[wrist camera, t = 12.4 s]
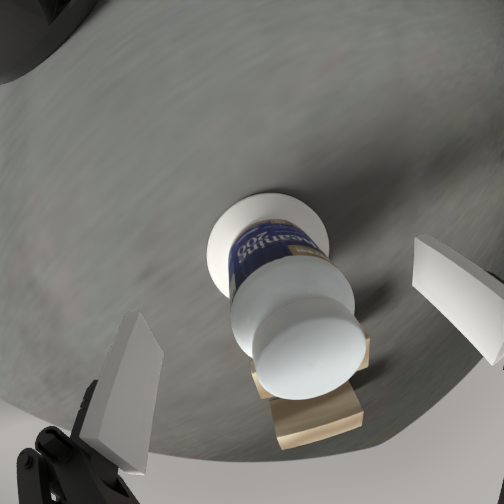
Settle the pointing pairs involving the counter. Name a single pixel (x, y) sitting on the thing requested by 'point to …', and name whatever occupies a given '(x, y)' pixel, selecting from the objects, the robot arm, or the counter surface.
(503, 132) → the counter surface
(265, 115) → the counter surface
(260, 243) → the pill bottle
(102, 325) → the counter surface
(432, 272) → the robot arm
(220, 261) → the pad
